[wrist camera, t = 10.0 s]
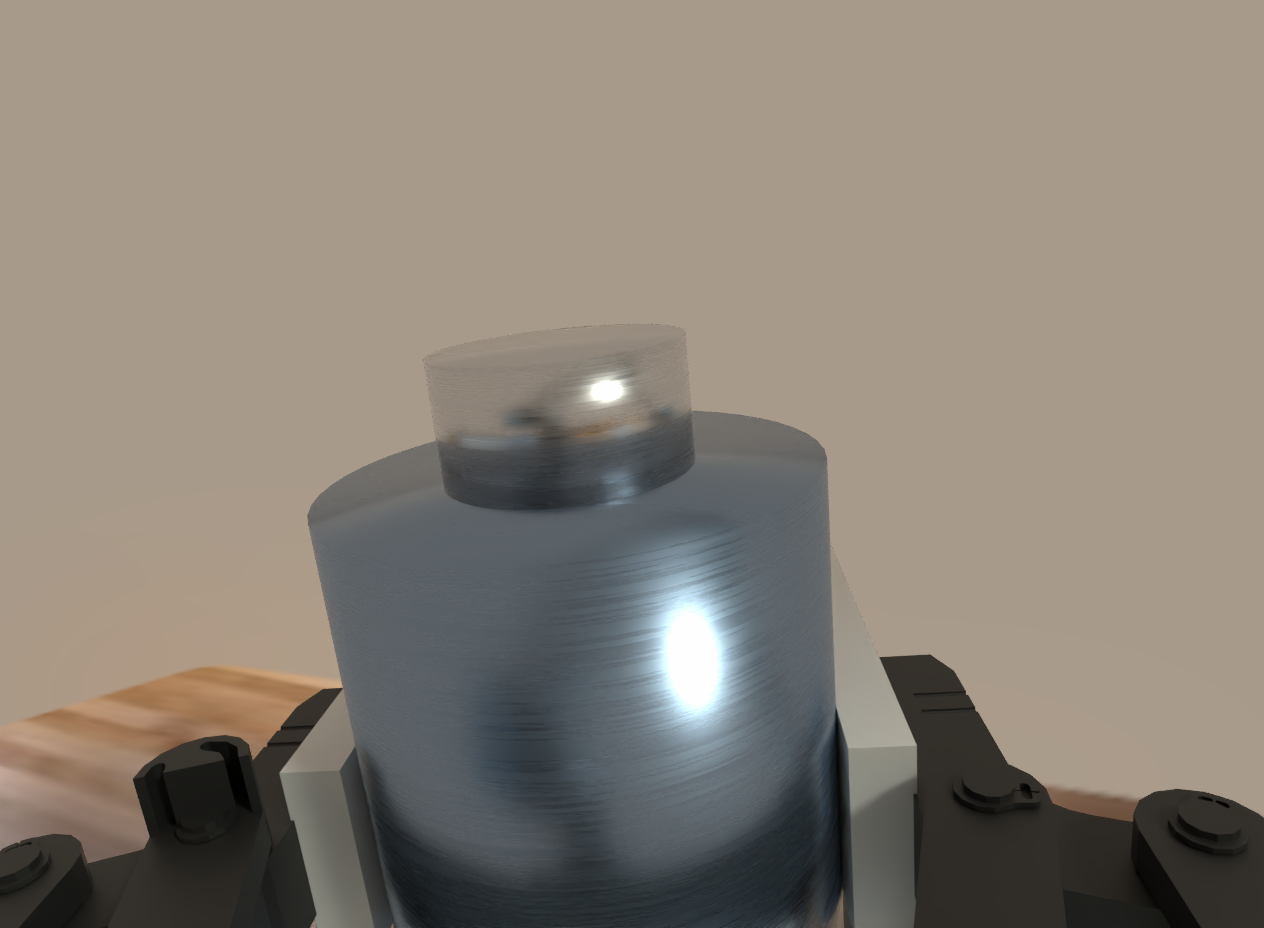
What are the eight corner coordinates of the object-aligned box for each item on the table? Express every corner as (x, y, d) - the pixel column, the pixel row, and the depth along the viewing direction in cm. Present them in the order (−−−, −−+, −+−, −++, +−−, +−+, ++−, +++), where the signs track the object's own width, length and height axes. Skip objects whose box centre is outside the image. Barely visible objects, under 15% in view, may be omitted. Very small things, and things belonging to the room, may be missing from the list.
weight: (822, 977, 16) (791, 296, 12) (894, 1417, 10) (872, 363, 7) (505, 982, 16) (394, 332, 13) (400, 1399, 11) (149, 423, 7)
